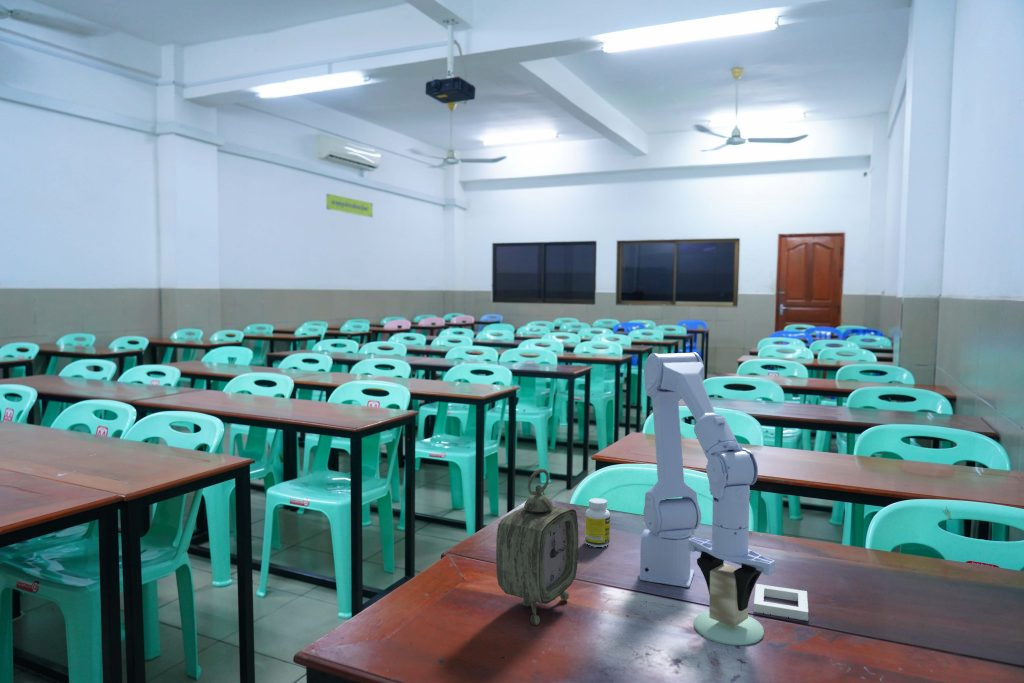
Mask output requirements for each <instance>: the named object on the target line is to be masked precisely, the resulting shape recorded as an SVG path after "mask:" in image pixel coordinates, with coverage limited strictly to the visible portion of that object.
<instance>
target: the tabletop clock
mask: <svg viewBox="0 0 1024 683" xmlns="http://www.w3.org/2000/svg"><path fill="white" fill-rule="evenodd" d="M542 473H543V474H545V476H546V477H545V482H544V485H543V486H542V485H539V484H538V485H536V486H535V490H531V485H532V482H533V481H534V478H535V477H536V476H537V475H539V474H542ZM549 482H550V475H549V472H548V471H547V469H545V468H539V469H537V470H535V471H534V472H532V474H531V475H530V477H529V479H528V483H527V491H528V492H529V493H528V494H530V496H529V497H527V499H526V501H525V502H524V504H523V507H520V508H519V509H516V510H514V511H512V512H510V513H509V514H507V515H506V516H505V517H502V519H500V521H499V523H498V524H497V530H496V548H495V550H496V551H495V564H496V579H497V580H496V581H497V584H498V587H500V589H501V590H502V591H503V592H504V593H505V594H506V595H510V596H513V597H517V598H521V599H522V603H523V606H525V607H531V611H532V615H531V617H530V619H529V620H530V623H531V624H532V625H533V626H537V625H539V624H540V622H541V618H540V616H539V615H538V614H537V603H538V604H543V605H544V604H549V603H551V602H552V601H554V600H556V598H559V597H560V599H561V600H562V601H568V600H569V599H570V594H569V592H568V591H567V589H568V588H569V587H570V586H571V585H572V584H573V582H574V580H575V579H576V576H577V571H578V570H577V569H578V559H579V522H578V515H577V511H576V510H575V509H573V508H567V507H561V506H558V505H557V506H556V505H554V504H553V502H552V499H550V497H549V496H547V495H546V494H545V495H543V491H544V492H545V490H546V489H547V487H548V484H549Z"/></svg>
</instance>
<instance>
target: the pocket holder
mask: <svg viewBox="0 0 1024 683" xmlns="http://www.w3.org/2000/svg"><path fill="white" fill-rule="evenodd" d="M765 597H766V598H773V599H774V598H775V599H778V600H779V599H781V600H787V601H794V602H797V606H795V605H788V604H782V603H776V602H769V601H765ZM753 612H754V613H758V614H763V613H764V614H765V615H770V614H771V616H777V617H782V618H788V617H789V619H794V620H795V619H796V620H800V621H807V622H808V621H809V602H808V591H807V590H800V589H795V588H788V587H782V586H781V587H780V586H773V585H768V584H761V583H755V591H754V599H753ZM764 614H763V615H764Z"/></svg>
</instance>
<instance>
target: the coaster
mask: <svg viewBox="0 0 1024 683" xmlns="http://www.w3.org/2000/svg"><path fill="white" fill-rule="evenodd" d="M693 625H694V628H695V630H696V632H698V633H699V634H700V635H701V636H702V637H704V638H706V639H708V640H710V641H713V642H716V643H719V644H722V645H723V644H724V645H728V646H729V645H730V646H749V645H753V644H756V643H759V642H760V641H761V640H762V639H763V637H764V633H765V632H764V626H763V625H762V624H761V623H760V621H758V620H757V619H755V618H754V617H751V616H750V615H748V619H746V620H745V621H743V622H742V623H740V624H739V625H737V626H736V627H732V626H729V625H727V624H724V623H722V622H719V621H716V620H714V619H711V618H709V610H706V611H702V612H700V613H699V614H697V615H696V616H695V617H694V620H693Z"/></svg>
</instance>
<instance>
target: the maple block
mask: <svg viewBox="0 0 1024 683" xmlns="http://www.w3.org/2000/svg"><path fill="white" fill-rule="evenodd" d="M738 568H739V567H736V566H733V565H729V564H727V563H723V564H722V565H720V566H718V567H717V568H715V569H713V570H711V571H710V595H709V605H708V606H709V607H708V608H709V610H708V611H709V618H711V619H714V620H716V621H719V622H722V623H724V624H727V625H729V626H732V627H736V626H737V625H739V624H740V623H742V622H743V621H745V620H746V619H748V616H749V606H748V607H747V608H746V609H745V610H743V611H739V610H738V605H737V584H736V579H735V575H734V571H735V570H737V569H738Z"/></svg>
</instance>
